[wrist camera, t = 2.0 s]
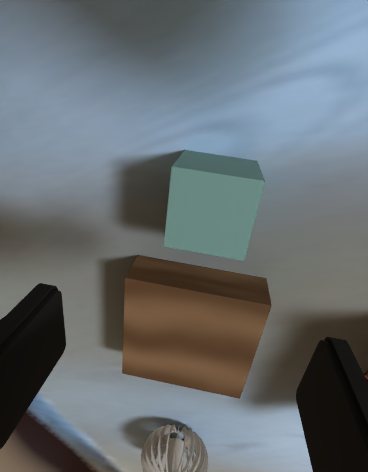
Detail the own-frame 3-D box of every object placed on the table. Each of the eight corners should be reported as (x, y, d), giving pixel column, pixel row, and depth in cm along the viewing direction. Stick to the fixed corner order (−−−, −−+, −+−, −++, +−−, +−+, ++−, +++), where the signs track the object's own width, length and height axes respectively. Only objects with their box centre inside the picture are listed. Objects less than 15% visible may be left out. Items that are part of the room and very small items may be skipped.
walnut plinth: (137, 255, 29) (124, 277, 25) (266, 278, 28) (271, 305, 24) (133, 344, 35) (122, 373, 31) (238, 366, 34) (239, 398, 30)
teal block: (184, 149, 24) (171, 166, 18) (257, 160, 23) (264, 181, 18) (177, 215, 26) (163, 246, 21) (241, 226, 26) (244, 260, 21)
